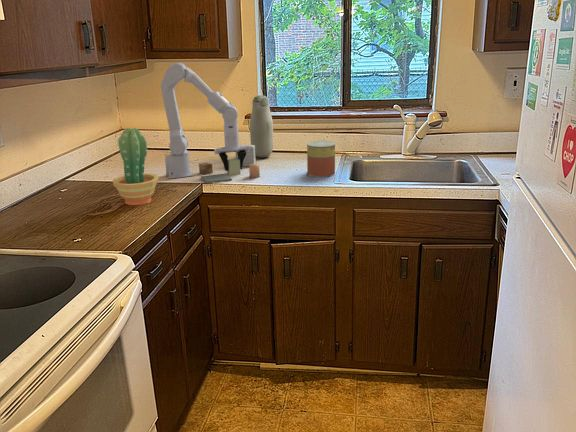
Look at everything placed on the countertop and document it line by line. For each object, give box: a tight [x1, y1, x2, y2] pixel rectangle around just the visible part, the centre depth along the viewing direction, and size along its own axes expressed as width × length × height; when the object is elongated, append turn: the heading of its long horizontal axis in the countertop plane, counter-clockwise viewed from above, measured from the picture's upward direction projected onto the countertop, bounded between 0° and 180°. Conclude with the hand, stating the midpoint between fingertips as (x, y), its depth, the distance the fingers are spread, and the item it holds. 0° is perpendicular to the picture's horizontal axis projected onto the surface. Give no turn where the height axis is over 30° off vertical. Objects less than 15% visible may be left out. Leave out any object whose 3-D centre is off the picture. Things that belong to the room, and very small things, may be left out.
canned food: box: [306, 140, 336, 178], centre depth 213 cm, size 11×11×12 cm
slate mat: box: [200, 173, 232, 185], centre depth 209 cm, size 10×9×1 cm
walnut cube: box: [198, 161, 214, 176], centre depth 218 cm, size 4×4×4 cm
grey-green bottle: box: [249, 94, 274, 159], centre depth 240 cm, size 10×10×28 cm
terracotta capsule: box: [248, 163, 261, 179], centre depth 211 cm, size 4×4×5 cm
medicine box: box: [235, 144, 257, 167], centre depth 229 cm, size 8×4×9 cm, turn 84°
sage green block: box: [226, 157, 242, 176], centre depth 216 cm, size 4×4×6 cm
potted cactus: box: [112, 127, 159, 206], centre depth 179 cm, size 15×15×25 cm
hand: (233, 169), depth 217 cm, fingers open, 5 cm apart
